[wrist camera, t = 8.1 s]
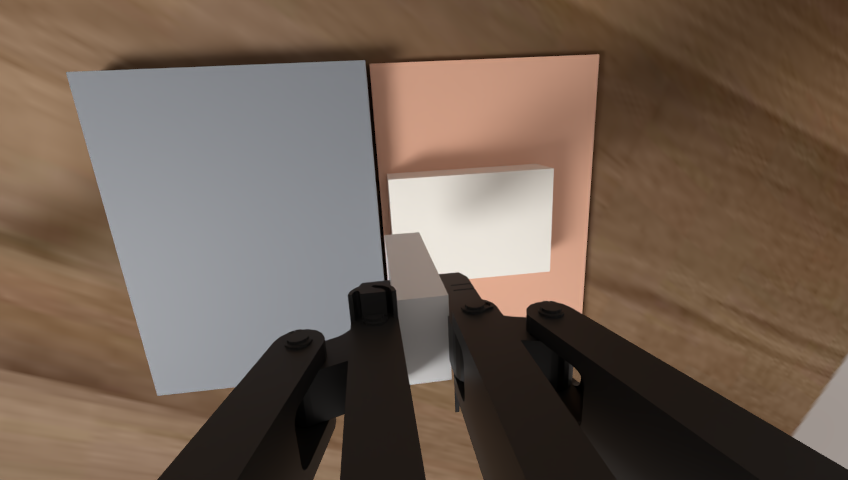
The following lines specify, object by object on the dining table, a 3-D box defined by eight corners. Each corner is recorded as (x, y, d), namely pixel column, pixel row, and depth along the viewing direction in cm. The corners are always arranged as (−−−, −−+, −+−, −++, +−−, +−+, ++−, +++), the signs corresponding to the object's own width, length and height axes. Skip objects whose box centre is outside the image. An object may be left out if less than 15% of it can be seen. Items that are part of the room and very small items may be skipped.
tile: (394, 270, 25) (396, 285, 23) (387, 173, 24) (388, 179, 21) (534, 257, 26) (549, 271, 24) (536, 163, 25) (553, 168, 22)
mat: (393, 352, 28) (393, 356, 27) (369, 65, 22) (369, 63, 22) (577, 332, 29) (580, 335, 28) (594, 55, 24) (599, 54, 23)
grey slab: (173, 375, 26) (157, 395, 24) (93, 76, 21) (65, 72, 19) (390, 352, 28) (391, 369, 26) (365, 64, 22) (364, 60, 21)
